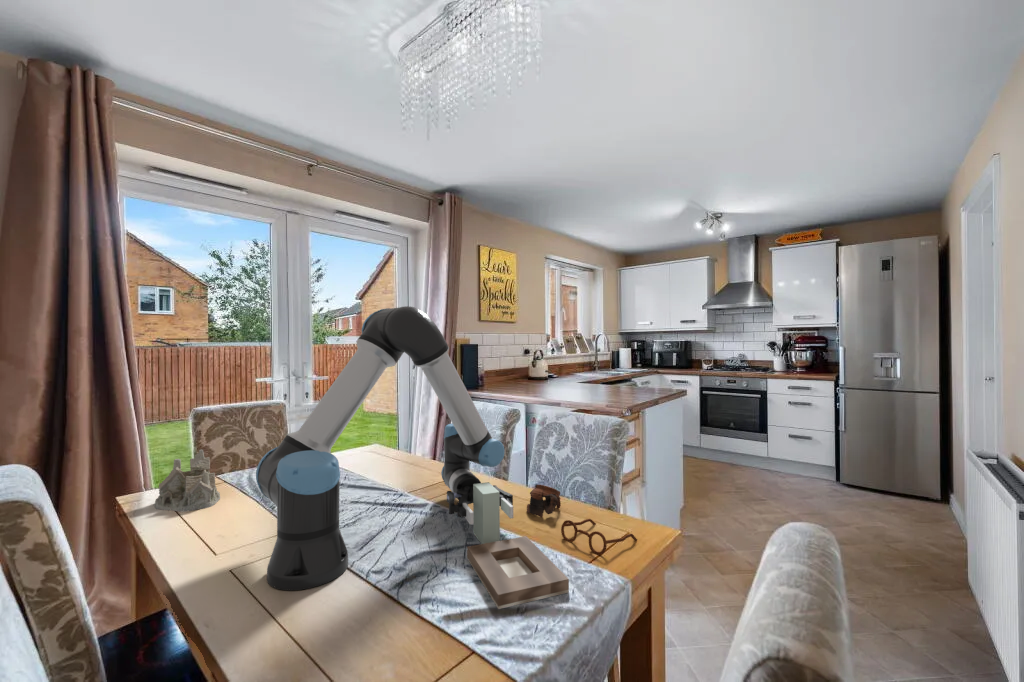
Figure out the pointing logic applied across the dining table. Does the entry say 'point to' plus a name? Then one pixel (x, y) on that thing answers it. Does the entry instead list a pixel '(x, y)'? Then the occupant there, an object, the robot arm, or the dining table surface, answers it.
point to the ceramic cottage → (188, 487)
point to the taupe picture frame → (516, 571)
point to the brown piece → (539, 504)
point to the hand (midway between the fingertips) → (492, 515)
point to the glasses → (570, 523)
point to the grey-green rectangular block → (486, 512)
